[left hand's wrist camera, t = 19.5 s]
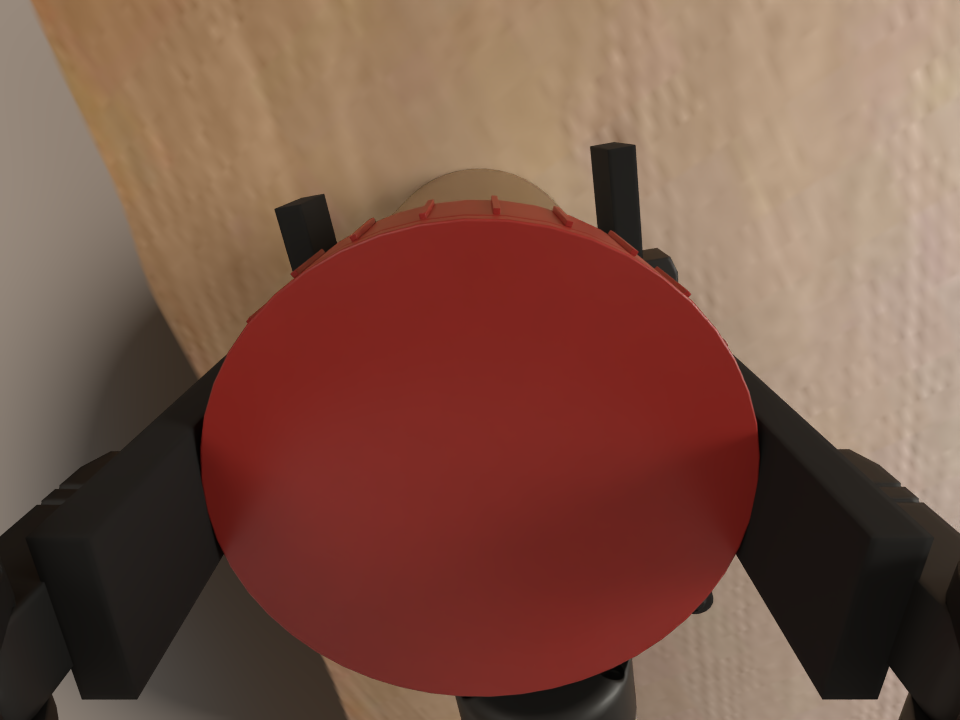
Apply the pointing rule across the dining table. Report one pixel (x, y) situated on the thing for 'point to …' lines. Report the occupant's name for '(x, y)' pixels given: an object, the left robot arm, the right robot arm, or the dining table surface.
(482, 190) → the jar
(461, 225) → the lid
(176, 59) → the dining table surface
